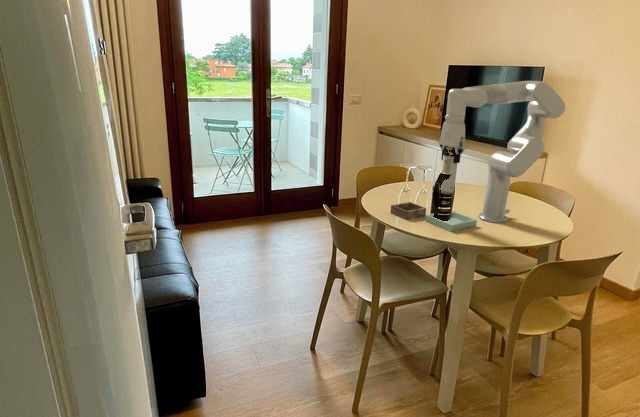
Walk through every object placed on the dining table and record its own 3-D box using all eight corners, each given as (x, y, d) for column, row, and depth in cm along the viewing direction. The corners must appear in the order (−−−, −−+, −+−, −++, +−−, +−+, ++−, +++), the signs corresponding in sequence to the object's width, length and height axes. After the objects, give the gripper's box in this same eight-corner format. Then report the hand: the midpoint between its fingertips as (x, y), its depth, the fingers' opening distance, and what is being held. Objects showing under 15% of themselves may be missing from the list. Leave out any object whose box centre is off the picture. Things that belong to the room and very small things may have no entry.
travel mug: (455, 194, 183) (460, 149, 177) (439, 193, 185) (444, 148, 178) (454, 190, 189) (459, 146, 183) (439, 189, 191) (443, 145, 184)
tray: (449, 216, 199) (450, 210, 198) (475, 226, 187) (476, 219, 186) (425, 221, 191) (426, 215, 190) (450, 232, 179) (451, 225, 178)
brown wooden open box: (409, 209, 207) (410, 201, 205) (425, 216, 198) (426, 208, 196) (390, 213, 200) (391, 205, 199) (406, 220, 192) (407, 211, 190)
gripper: (433, 117, 182) (429, 158, 188) (464, 122, 168) (459, 166, 174) (446, 116, 186) (442, 157, 192) (477, 121, 172) (472, 164, 177)
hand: (450, 161), depth 183 cm, fingers closed on travel mug, 6 cm apart
